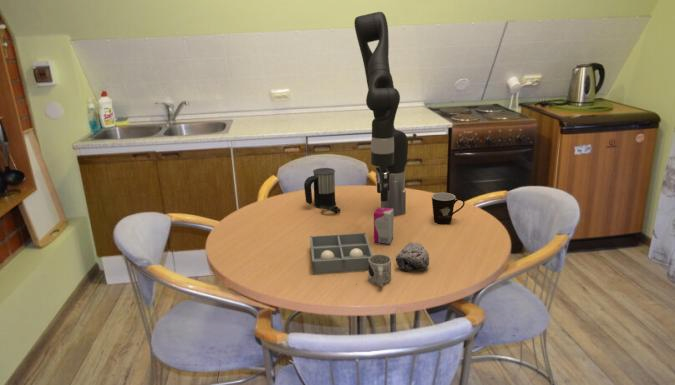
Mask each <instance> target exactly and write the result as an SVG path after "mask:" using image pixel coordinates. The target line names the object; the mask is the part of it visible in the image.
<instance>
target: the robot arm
mask: <svg viewBox="0 0 675 385" xmlns="http://www.w3.org/2000/svg"><path fill="white" fill-rule="evenodd" d="M353 25H354V31H355V35H356V39H357V43H358V46H359V50H360V54H361V58H362V62H363V67H364V74H365V78H366V84H367V94H366V99H365V103H366V107H367V108H368V109H369V110H370V111H372V113H373V117H374V118H373V120H371V141H370V164H371V165H372V166H375V176H374V177H375V181H376V193H377V194H380V208H393V217H397V216H398V217H399V216H402V215H405V214H406V213H407V212H406V210H407V209H406V206H407V205H406V203H407V201H406V199H407V193H406V189H405V186H406V185H405V179H406V178H405V176H406V175H405V173H406V171H405V170H406V166H407V163H408V153H409V140H408V136H407V135H406V133H405V132H404V131H401V130H399V129H396V128H395V118H396V114H397V111H398V108H399V105H400V103H401V102H400V100H401V96H400V92H399V90H398V89H397V88H395V86H394V81H393V75H392V74H391V68H390V59H389V48H390V47H389V45H390V44H389V26H388V20H387V18H386V15H385V13H384V12H382V11H376V12H371V13H368V14H363V15H359V16H356V17H355V18H354V24H353ZM376 41H377V42H378V43H377V45H376V47H375V49H374V51H372V50H371V48H370V46H369V43H372V42H376Z"/></svg>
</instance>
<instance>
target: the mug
mask: <svg viewBox="0 0 675 385" xmlns="http://www.w3.org/2000/svg"><path fill="white" fill-rule="evenodd" d="M367 271H368V272H367V273H368V281H369V283H371V284H372V285H375V286H378V287H383V286H384V285H387V284H389V283H390V282H391V281H392V258H391V257H390V256H389V255H387V254H381V253H379V254H377V253H376V254H373V255H372V256H370V257H369V259H368V270H367Z"/></svg>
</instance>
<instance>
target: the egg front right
mask: <svg viewBox="0 0 675 385" xmlns="http://www.w3.org/2000/svg"><path fill="white" fill-rule="evenodd" d="M334 258H335V257H334V254H333V252H332V251H329V250H326V251H324V252H322V254H321V260H331V259H334Z"/></svg>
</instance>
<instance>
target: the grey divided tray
mask: <svg viewBox="0 0 675 385" xmlns="http://www.w3.org/2000/svg"><path fill="white" fill-rule="evenodd" d="M309 238H310V239H309V240H310V242H309V243H310V253H311V265H312V266H311V267H312V274H313V275H321V274H336V273H350V272H351V273H352V272H365V271H366V272H367V271H368V259H369V257H370V256H372V255H374V254H373V250H372V247H371V245H370V243H369V239H368V236H367V234H366V232H359V233H357V232H354V233H342V234H341V233H340V234H338V233H337V234H327V235H323V234H322V235H310V237H309ZM355 248H358V249H360V250H361V251H362V252H363V257H360V258H350V257H349V254H350V251H351V250H352V249H355ZM326 250H329V251H332V252H333V254H334V257H335V258H334V259H331V260H321V254H322V252H324V251H326Z"/></svg>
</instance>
